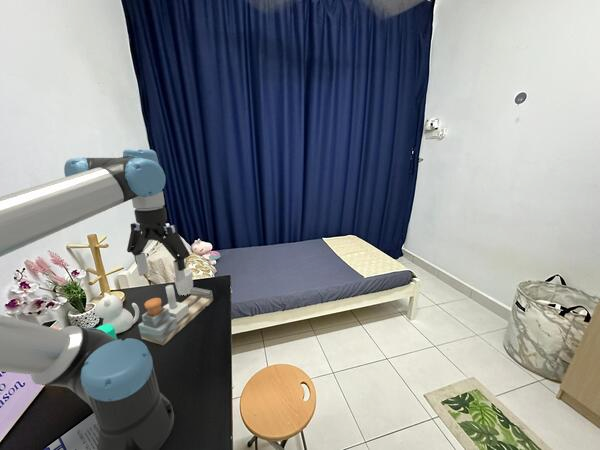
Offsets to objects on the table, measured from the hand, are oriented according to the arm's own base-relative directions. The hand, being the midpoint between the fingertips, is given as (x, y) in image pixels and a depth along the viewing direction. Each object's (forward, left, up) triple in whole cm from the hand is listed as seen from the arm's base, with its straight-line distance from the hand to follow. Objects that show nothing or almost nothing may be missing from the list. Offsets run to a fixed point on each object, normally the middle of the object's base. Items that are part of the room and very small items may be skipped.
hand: (162, 276), depth 74 cm
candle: (-9, +19, -28) cm, 35 cm away
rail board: (+14, +11, -28) cm, 33 cm away
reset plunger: (+4, +11, -21) cm, 24 cm away
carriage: (+11, +11, -25) cm, 30 cm away
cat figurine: (+2, +28, -28) cm, 40 cm away
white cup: (+29, +23, -28) cm, 47 cm away
